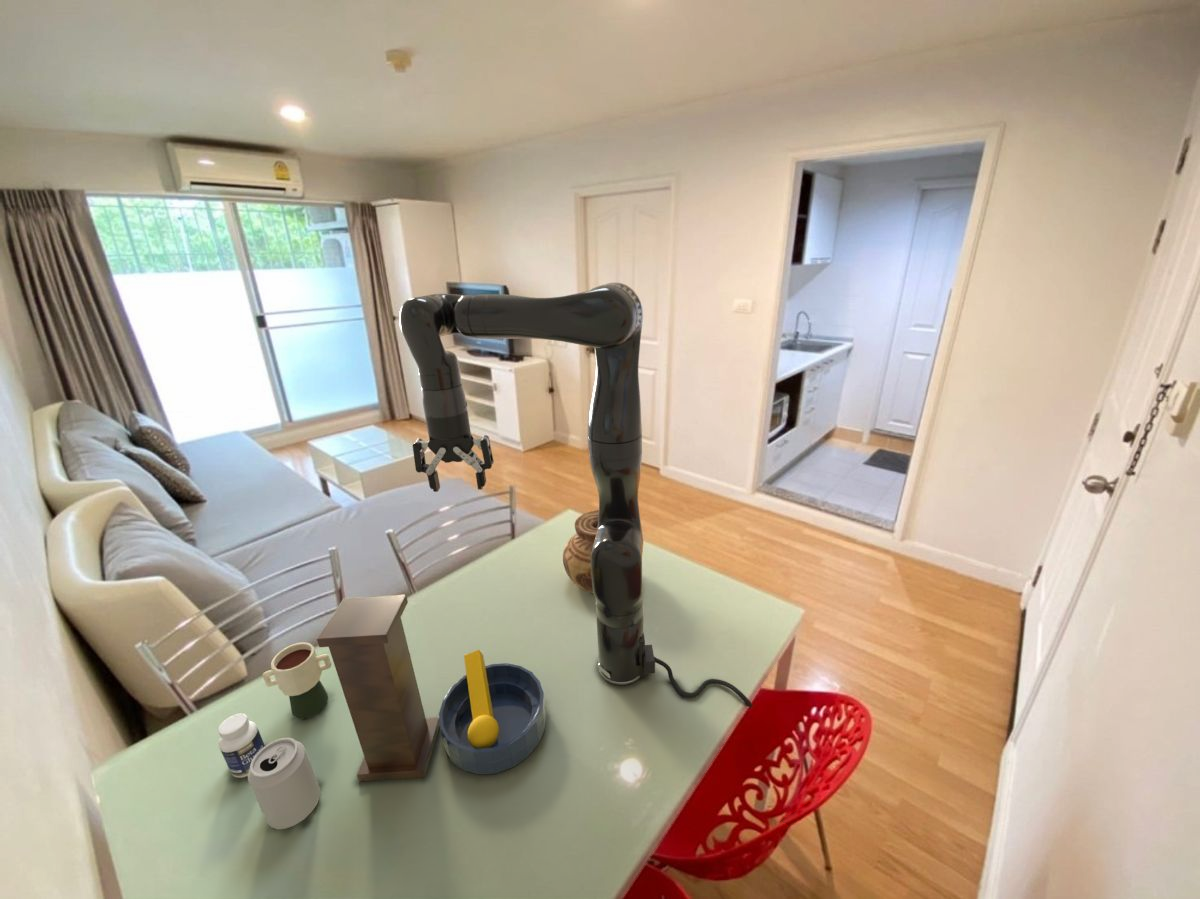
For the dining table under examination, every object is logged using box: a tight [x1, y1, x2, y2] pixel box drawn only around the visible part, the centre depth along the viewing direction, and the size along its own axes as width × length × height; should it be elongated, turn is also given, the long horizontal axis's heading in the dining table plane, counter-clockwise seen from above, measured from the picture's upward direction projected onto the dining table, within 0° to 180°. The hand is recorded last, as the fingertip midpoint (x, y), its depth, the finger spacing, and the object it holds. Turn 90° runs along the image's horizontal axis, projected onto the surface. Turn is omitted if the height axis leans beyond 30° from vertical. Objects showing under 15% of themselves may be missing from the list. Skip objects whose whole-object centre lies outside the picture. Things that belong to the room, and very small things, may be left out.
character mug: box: [262, 641, 332, 720], centre depth 93 cm, size 11×7×13 cm, turn 113°
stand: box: [316, 594, 440, 782], centre depth 81 cm, size 11×10×30 cm
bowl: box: [438, 662, 547, 775], centre depth 89 cm, size 18×18×6 cm
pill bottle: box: [217, 713, 266, 779], centre depth 84 cm, size 5×5×10 cm
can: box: [247, 737, 322, 830], centre depth 76 cm, size 8×8×12 cm
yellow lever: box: [463, 649, 499, 749], centre depth 88 cm, size 5×18×5 cm, turn 19°
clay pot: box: [562, 509, 599, 594], centre depth 125 cm, size 19×19×20 cm
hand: (459, 488), depth 96 cm, fingers open, 8 cm apart
